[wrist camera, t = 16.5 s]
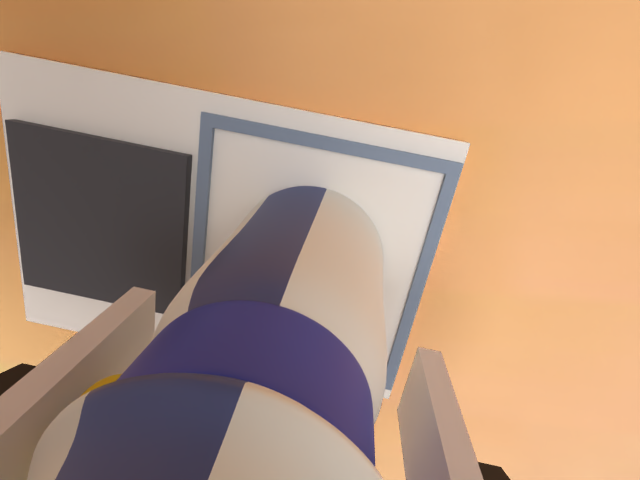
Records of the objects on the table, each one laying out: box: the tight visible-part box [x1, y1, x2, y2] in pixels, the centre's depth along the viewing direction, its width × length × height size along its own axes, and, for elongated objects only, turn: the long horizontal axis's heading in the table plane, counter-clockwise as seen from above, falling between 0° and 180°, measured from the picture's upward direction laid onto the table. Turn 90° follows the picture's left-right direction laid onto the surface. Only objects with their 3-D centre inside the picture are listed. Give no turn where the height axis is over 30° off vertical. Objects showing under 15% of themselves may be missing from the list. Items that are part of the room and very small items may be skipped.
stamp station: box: [0, 51, 470, 399], centre depth 20 cm, size 15×22×1 cm
